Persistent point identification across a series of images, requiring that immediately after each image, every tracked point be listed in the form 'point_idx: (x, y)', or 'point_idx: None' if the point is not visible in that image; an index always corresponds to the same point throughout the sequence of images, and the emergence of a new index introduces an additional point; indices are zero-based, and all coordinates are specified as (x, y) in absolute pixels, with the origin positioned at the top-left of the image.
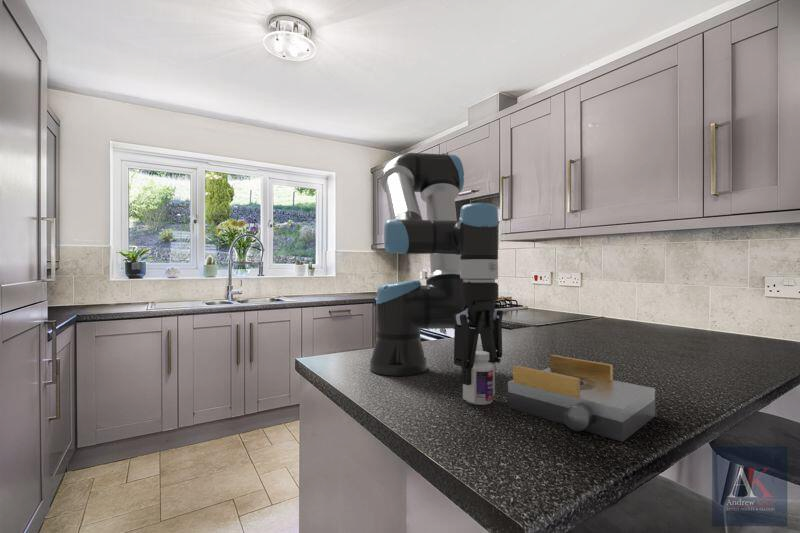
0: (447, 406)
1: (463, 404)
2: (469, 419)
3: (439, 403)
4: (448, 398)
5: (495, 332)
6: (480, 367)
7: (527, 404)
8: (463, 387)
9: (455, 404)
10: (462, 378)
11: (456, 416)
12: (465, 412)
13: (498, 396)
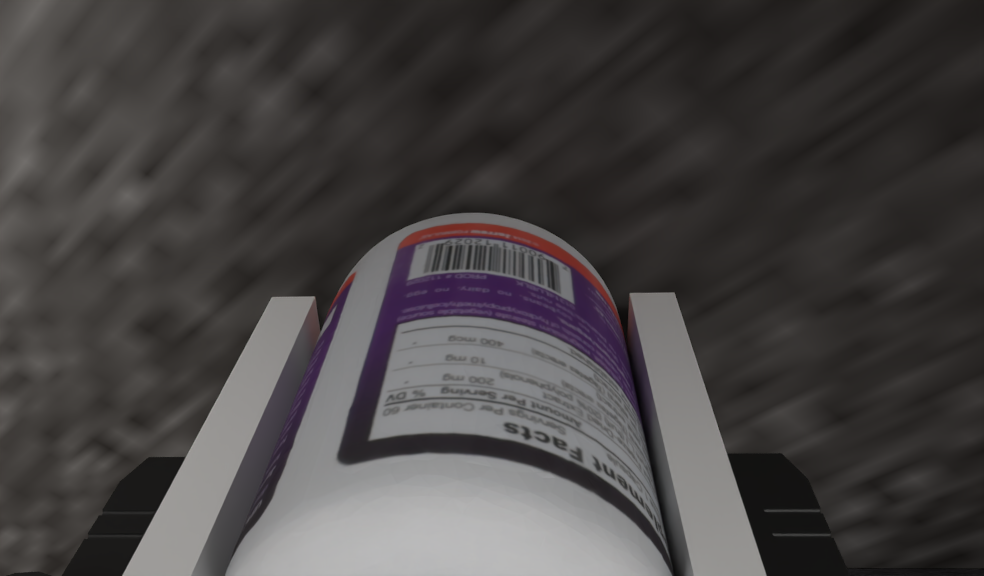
0: (75, 234)
1: (266, 297)
2: (68, 523)
3: (46, 114)
4: (255, 58)
5: None
6: None
7: None
8: (233, 381)
9: (191, 247)
10: (103, 522)
11: (6, 435)
12: (137, 428)
13: (768, 371)
